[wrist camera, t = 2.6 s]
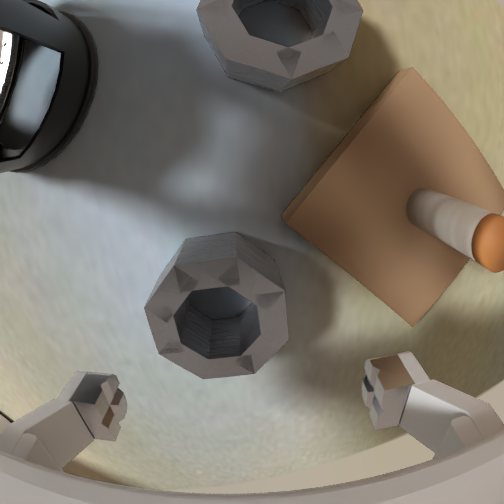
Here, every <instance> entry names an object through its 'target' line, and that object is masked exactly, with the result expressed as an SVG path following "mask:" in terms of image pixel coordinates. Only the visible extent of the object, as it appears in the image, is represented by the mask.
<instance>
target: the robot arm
mask: <svg viewBox="0 0 504 504" xmlns="http://www.w3.org/2000/svg"><path fill="white" fill-rule="evenodd" d="M364 370H365V372H366V376H365V377H364V378H363V380H362V397H363V401H364V404H365V406H366V407H368V408H369V409H370V414H369V417H370V419H371V422H372V425H373V427H374V430H378V429H383V428H388V427H393V426H397V425H399V427H401V428H402V429H403V430H405V431H406V432H407V433H409V434H410V435H412V436H413V437H414V438H416V439H417V440H418V441H420V442H421V443H422V444H424V445H425V446H426V447H428V448H429V449H431V450H432V451H433V452H435V453H436V454H435V456H434V457H433V459H432V460H430V461H427V462H424V463H421V464H418V465H414V466H412V467H408V468H405V469H401V470H398V471H394V472H390V473H386V474H383V475H379V476H374V477H370V478H366V479H361V480H357V481H352V482H347V483H341V484H336V485H330V486H324V487H317V488H310V489H302V490H293V491H282V492H269V493H253V494H252V493H250V494H202V493H184V492H171V491H161V490H152V489H144V488H137V487H130V486H124V485H118V484H113V483H108V482H103V481H98V480H93V479H89V478H84V477H80V476H76V475H72V474H69V473H65V472H64V471H63V470H62V468H63V467H64V466H65V465H66V464H68V463H69V462H70V461H71V460H72V459H73V458H74V457H76V456H77V455H78V454H79V453H80V452H81V451H82V450H84V449H85V448H86V447H87V446H88V445H89V444H90V443H91V442H93V441H94V439H100V440H108V441H116V439H117V436H118V433H119V431H120V428H121V427H120V424H119V422H120V421H121V420H123V419H124V418H125V415H126V412H127V401H126V397H125V395H124V393H123V392H122V391H121V390H120V389H119V388H118V386H119V381H118V378H117V376H116V375H114V374H107V373H96V372H83V371H77V372H74V374H73V375H72V377H71V378H70V380H69V381H68V383H67V385H66V386H65V388H64V389H63V391H62V392H61V394H60V395H59V397H58V399H53V400H51V401H49V402H48V403H46V404H44V405H42V406H41V407H39V408H37V409H35V410H34V411H32V412H30V413H28V414H27V415H25V416H23V417H21V418H20V419H18V420H16V421H14V422H13V423H11V422H9V421H8V420H7V419H6V418H4V417H3V416H2V415H0V504H504V424H503V422H502V421H501V419H500V418H499V417H498V415H497V414H496V412H495V411H494V410H493V408H492V407H491V405H490V404H488V403H485V402H483V401H481V400H479V399H477V398H474V397H472V396H470V395H468V394H465V393H463V392H461V391H459V390H457V389H454V388H452V387H450V386H448V385H446V384H443V383H441V382H439V381H437V380H435V379H433V380H430V379H429V377H428V376H427V374H426V373H425V371H424V370H423V368H422V367H421V365H420V364H419V363H418V361H417V360H416V358H415V357H414V355H413V354H412V352H410V351H405V352H401V353H396V354H393V355H388V356H383V357H377V358H372V359H367V360H366V362H365V366H364Z"/></svg>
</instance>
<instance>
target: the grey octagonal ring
mask: <svg viewBox="0 0 504 504" xmlns="http://www.w3.org/2000/svg"><path fill="white" fill-rule="evenodd" d="M263 1H266V0H201V1H200V3H199V5H198V7H197V9H196V10H197V13H198V17H199V20H200V23H201V27H202V30H203V33H204V36H205V38H206V40H207V41H208V43H209V45H210V47H211V48H212V50H213V52H214V53H215V55H216V57H217V59H218V60H219V62H220V64H221V66H222V67H223V69H224V71H225V73H226V74H227V76H228V77H229V78H233V79H237V80H240V81H243V82H247V83H250V84H253V85H257V86H260V87H263V88H266V89H269V90H272V91H275V92H278V93H280V92H282V91H284V90H286V89H289V88H291V87H293V86H296V85H298V84H301V83H303V82H305V81H308V80H310V79H313V78H315V77H318V76H320V75H323V74H325V73H327V72H328V71H330V70H331V69H333V68H334V67H336V66H337V65H338V64H340V63H341V62H343V61H345V60H346V59H348V58H349V54H350V51H351V48H352V45H353V42H354V39H355V36H356V32H357V29H358V26H359V23H360V20H361V16H362V13H363V9H362V7H361V5H360V4H359V2H358V1H357V0H274V1H277V2H280V3H283V4H286V5H289V6H292V7H295V8H298V9H299V10H300V12H301V14H302V15H303V17H304V18H305V20H306V22H307V23H308V25H309V27H310V28H311V30H312V32H313V33H312V35H311V38H310V40H308V41H305V42H302V43H299V44H297V45H294V46H291V47H289V48H288V47H285V46H282V45H279V44H276V43H273V42H270V41H267V40H264V39H260V38H257V37H254V36H250V35H249V34H248V32H247V30H246V29H245V27H244V25H243V24H242V22H241V21H240V19H239V15H240V13H241V10H242V9H244V8H247V7H249V6H252V5H255V4H257V3H260V2H263Z"/></svg>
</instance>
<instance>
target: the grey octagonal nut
mask: <svg viewBox="0 0 504 504" xmlns="http://www.w3.org/2000/svg"><path fill="white" fill-rule="evenodd" d="M226 286H228V287H230V288H231V289H233V290H234V291H236V292H237V293H239V294H240V295H242V296H243V297H245V298H246V299H248V300H249V301H251V302H252V303H251V304H250V305H249V306H248V307H247V309H246V310H245V311H244V312H243V313H242V314H241V315H240V317H235V318H227V319H218V320H211V319H210V318H208V317H206V316H205V315H203V314H202V313H200V312H199V311H197V310H195V309H194V308H192V307H191V306H190V304H189V300H188V295H189V294H190V293H191V291H194V290H202V289H210V288H218V287H226ZM144 309H145V313H146V316H147V319H148V322H149V325H150V329H151V332H152V335H153V338H154V341H155V344H156V347H157V350H158V353H159V354H160V355H162V356H163V357H165V358H167V359H168V360H170V361H172V362H174V363H175V364H177V365H179V366H181V367H182V368H184V369H186V370H188V371H189V372H191V373H193V374H195V375H197V376H199V377H200V378H202V379H209V378H220V377H230V376H240V375H248V374H255V373H256V372H257V371H258V370H259V369H260V368H261V367H262V366H263V365H264V364H265V363H266V362H267V361H268V360H269V359H270V358H271V357H272V356H273V355H274V354H275V353H276V352H277V351H278V350H279V349H280V348H281V347H282V346H283V345H284V344H285V343H286V342H287V341H288V340H289V336H288V323H287V311H286V300H285V290H284V287H283V284H282V281H281V278H280V274H279V271H278V268H277V265H276V262H275V260H274V259H272V258H271V257H270V256H268V255H267V254H265V253H264V252H263V251H261V250H260V249H259V248H257V247H256V246H254V245H253V244H252V243H250V242H249V241H248V240H246V239H245V238H243V237H242V236H241V235H239V234H238V233H237V232H231V233H224V234H217V235H209V236H202V237H195V238H188V239H186V240H185V241H184V243H183V244H182V245H181V247H180V248H179V249H178V251H177V252H176V254H175V255H174V257H173V258H172V259H171V261H170V262H169V264H168V265H167V266H166V268H165V269H164V271H163V272H162V274H161V275H160V277H159V279H158V281H157V283H156V285H155V287H154V289H153V291H152V293H151V295H150V297H149V299H148V301H147V303H146V305H145V307H144Z"/></svg>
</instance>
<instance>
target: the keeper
mask: <svg viewBox="0 0 504 504" xmlns="http://www.w3.org/2000/svg"><path fill="white" fill-rule="evenodd" d="M503 209H504V189H503V187H502V186H501V184H500V182H499V181H498V179H497V177H496V176H495V174H494V172H493V171H492V169H491V167H490V166H489V164H488V163H487V161H486V160H485V158H484V156H483V155H482V153H481V152H480V150H479V149H478V147H477V146H476V145H475V143H474V142H473V140H472V139H471V137H470V136H469V135H468V133H467V132H466V130H465V129H464V128H463V126H462V125H461V124H460V122H459V121H458V120H457V118H456V117H455V116H454V114H453V113H452V112H451V111H450V109H449V108H448V107H447V106H446V104H445V103H444V102H443V101H442V99H441V98H440V97H439V96H438V95H437V94H436V92H435V91H434V90H433V89H432V88H431V87H430V85H429V84H428V83H427V82H426V81H425V80H424V79H423V78H422V76H421V75H420V74H419V73H418V72H417V71H416V70H415V69H414V68H413V67H411V68H407V69H404V70H401V71H399V72H398V73H397V74H396V75H395V76H394V78H393V79H392V80H391V81H390V83H389V84H388V85H387V86H386V87H385V89H384V90H383V91H382V92H381V94H380V95H379V96H378V97H377V98H376V100H375V101H374V102H373V103H372V105H371V106H370V107H369V108H368V109H367V111H366V112H365V113H364V114H363V116H362V117H361V118H360V119H359V120H358V122H357V123H356V124H355V125H354V127H353V128H352V129H351V130H350V131H349V133H348V134H347V135H346V136H345V138H344V139H343V140H342V141H341V142H340V144H339V145H338V146H337V147H336V149H335V150H334V151H333V152H332V153H331V155H330V156H329V157H328V158H327V160H326V161H325V162H324V163H323V164H322V166H321V167H320V168H319V169H318V171H317V172H316V173H315V174H314V175H313V177H312V178H311V179H310V180H309V182H308V183H307V184H306V185H305V187H304V188H303V189H302V190H301V191H300V193H299V194H298V195H297V196H296V198H295V199H294V200H293V201H292V202H291V204H290V205H289V206H288V207H287V209H286V210H285V211H284V212H283V213H282V215H281V216H282V218H283V219H284V221H285V223H286V224H288V225H289V226H290V227H291V228H293V229H294V230H295V231H296V232H298V233H299V234H300V235H302V236H303V237H304V238H305V239H307V240H308V241H309V242H310V243H312V244H313V245H314V246H315V247H317V248H318V249H319V250H320V251H322V252H323V253H324V254H325V255H327V256H328V257H329V258H330V259H332V260H333V261H334V262H335V263H337V264H338V265H339V266H340V267H342V268H343V269H344V270H345V271H346V272H348V273H349V274H350V275H351V276H353V277H354V278H355V279H356V280H357V281H359V282H360V283H361V284H362V285H363V286H365V287H366V288H367V289H368V290H369V291H371V292H372V293H373V294H374V295H375V296H377V297H378V298H379V299H380V300H381V301H383V302H384V303H385V304H386V305H387V306H389V307H390V308H391V309H392V310H393V311H394V312H396V313H397V314H398V315H399V316H400V317H401V318H403V319H404V320H405V321H406V322H407V323H408V324H410V325H411V326H412V327H413V326H414V325H415V324H416V323H417V322H418V321H419V320H420V318H421V317H422V316H423V315H424V314H425V313H426V312H427V311H428V309H429V308H430V307H431V306H432V305H433V304H434V303H435V301H436V300H437V299H438V298H439V297H440V295H441V294H442V293H443V292H444V291H445V289H446V288H447V287H448V286H449V285H450V283H451V282H452V281H453V280H454V278H455V277H456V276H457V274H458V273H459V272H460V271H461V269H462V268H463V267H464V265H465V264H466V263H467V261H468V260H469V259H470V258H471V259H472V260H474V261H476V262H477V263H479V264H480V265H482V266H483V267H485V268H487V269H488V270H490V271H491V272H494V273H497V272H501V271H503V270H504V217H503V216H501V215H500V214H501V212H502V211H503Z"/></svg>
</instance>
